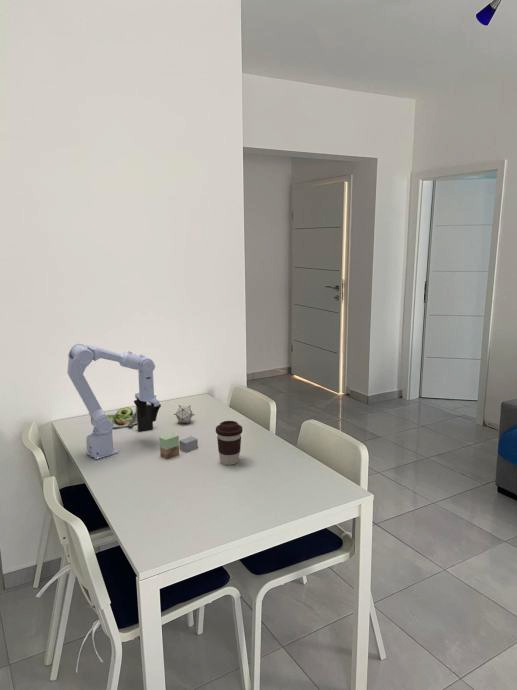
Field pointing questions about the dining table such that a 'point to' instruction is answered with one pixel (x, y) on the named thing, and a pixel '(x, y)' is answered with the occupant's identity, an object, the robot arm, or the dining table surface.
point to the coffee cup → (229, 442)
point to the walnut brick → (169, 452)
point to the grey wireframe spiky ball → (184, 414)
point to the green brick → (169, 441)
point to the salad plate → (123, 418)
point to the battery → (143, 421)
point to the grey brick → (188, 444)
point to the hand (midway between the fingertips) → (147, 418)
